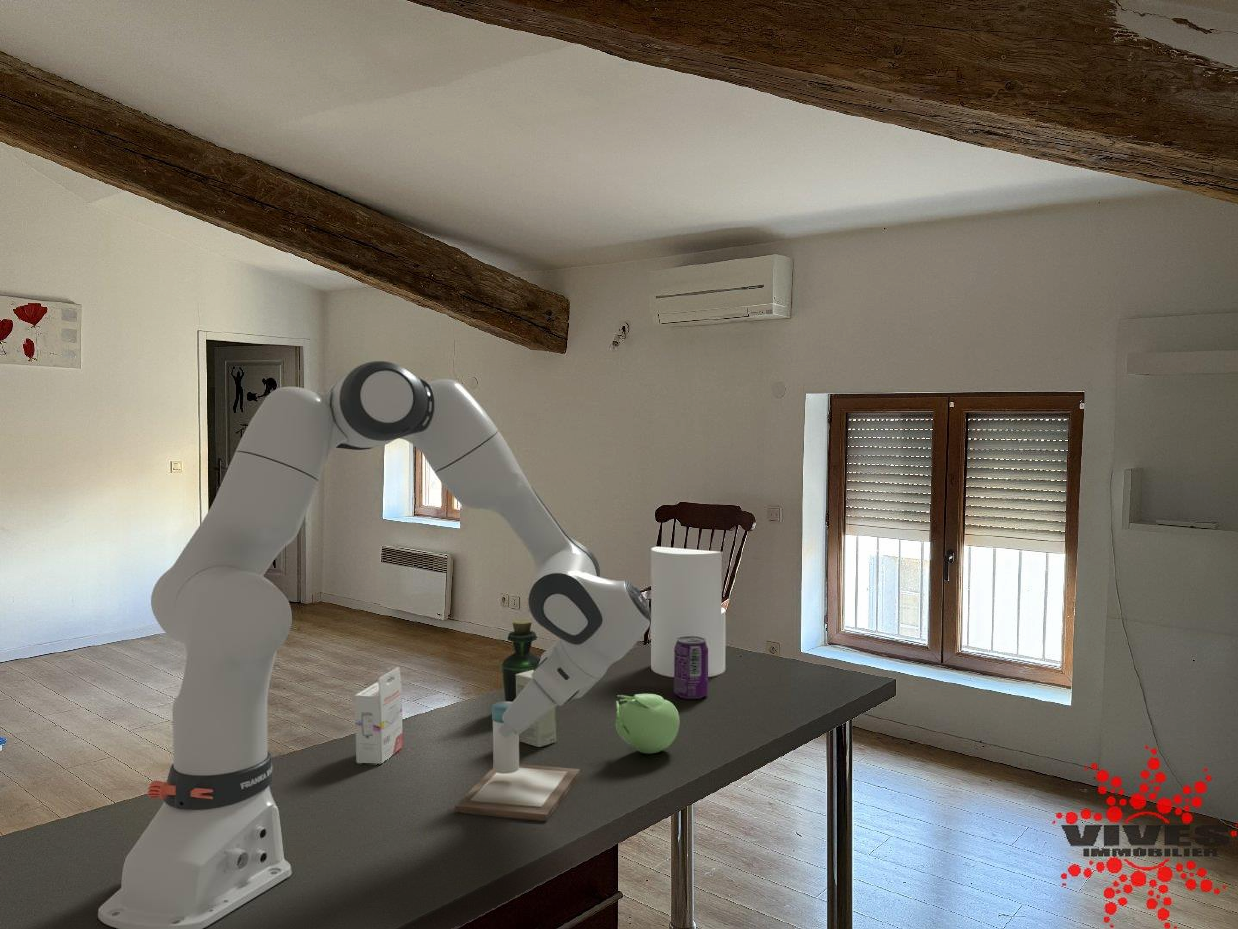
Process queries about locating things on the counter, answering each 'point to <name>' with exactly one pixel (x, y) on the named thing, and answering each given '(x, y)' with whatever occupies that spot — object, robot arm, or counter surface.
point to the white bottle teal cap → (504, 743)
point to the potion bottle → (518, 657)
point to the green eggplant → (647, 722)
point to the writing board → (520, 792)
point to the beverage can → (691, 667)
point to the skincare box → (545, 726)
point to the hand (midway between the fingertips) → (509, 727)
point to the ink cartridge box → (379, 719)
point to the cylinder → (686, 605)
